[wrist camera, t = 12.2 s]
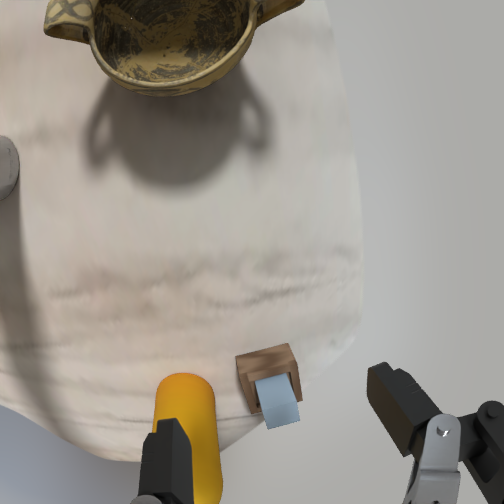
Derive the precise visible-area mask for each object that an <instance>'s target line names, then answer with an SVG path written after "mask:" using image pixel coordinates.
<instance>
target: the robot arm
mask: <svg viewBox="0 0 504 504" xmlns="http://www.w3.org/2000/svg"><path fill="white" fill-rule="evenodd" d="M18 171H19V159H18V154H17V150H16V148H15V146H14V144H13V143H12V141H11V140H10V139H8V138H7V137H5V136H1V135H0V200H2V199H4V198H6V197H7V196H8V195H9V194H10V192H11V191H12V190H13V188H14V186H15V184H16V181H17V177H18ZM367 397H368V400H369V403H370V404H371V406H372V408H373V409H374V411H375V412H376V414H377V416H378V417H379V419H380V420H381V422H382V424H383V425H384V427H385V428H386V430H387V432H388V433H389V435H390V436H391V438H392V439H393V441H394V443H395V444H396V446H397V448H398V449H399V451H400V453H401V454H402V456H403V457H406V456H408V455H410V454H412V455H413V457H414V458H415V459H414V462H413V467H412V471H411V475H410V479H409V483H408V487H407V491H406V495H405V498H404V501H403V503H402V504H456V503H457V497H458V491H459V485H460V472H459V471H458V470H457V466H458V462H460V461H463V463H464V464H465V466H466V467H467V469H468V471H469V472H470V474H471V475H472V477H473V479H474V480H475V482H476V484H477V485H478V487H479V489H480V490H481V492H482V494H483V495H484V497H485V498H486V500H487V502H488V504H504V405H502V404H501V403H500V402H497V401H487V402H485V403H483V404H482V405H481V406H480V408H479V409H478V411H477V412H476V413H473V414H469V415H466V416H463V417H455V416H453V415H450V414H443V413H442V412H441V411H440V410H439V408H438V407H437V406H436V405H435V404H434V403H433V401H432V400H431V399H430V398H429V397H428V395H427V394H426V393H425V392H424V391H423V390H422V389H421V387H420V386H419V384H418V383H416V381H415V380H414V379H413V377H412V376H411V375H410V374H409V373H407V372H405V371H403V370H402V369H400V368H399V369H396V370H393V369H392V368H391V367H390V366H389V364H388V363H387V362H382V363H380V364H377V365H375V366H372V367H370V368H368V376H367ZM142 454H143V455H142V460H141V462H142V464H141V470H140V481H139V492H138V496H137V497H136V498H135V499H134V500H132V502H131V503H130V504H194V489H193V466H192V447H191V443H190V440H189V438H188V436H187V434H186V433H185V431H184V429H183V428H182V426H181V424H180V423H179V421H178V419H177V418H169V419H161V420H158V421H157V427H156V432H155V433H149V434H148V436H147V438H146V439H145V441H144V443H143V451H142Z"/></svg>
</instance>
